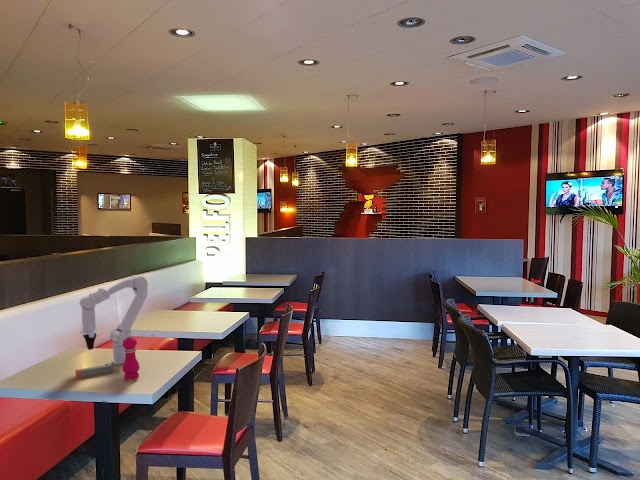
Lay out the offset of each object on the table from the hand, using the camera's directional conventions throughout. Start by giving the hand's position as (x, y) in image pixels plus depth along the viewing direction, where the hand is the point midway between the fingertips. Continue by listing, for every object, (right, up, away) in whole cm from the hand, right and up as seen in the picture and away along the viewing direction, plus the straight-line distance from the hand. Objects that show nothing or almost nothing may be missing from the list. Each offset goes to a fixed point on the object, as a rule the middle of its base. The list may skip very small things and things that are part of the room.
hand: (90, 349), depth 236 cm
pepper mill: (+25, -10, -14) cm, 31 cm away
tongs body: (+6, -10, -9) cm, 14 cm away
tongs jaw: (+4, -10, -9) cm, 14 cm away
